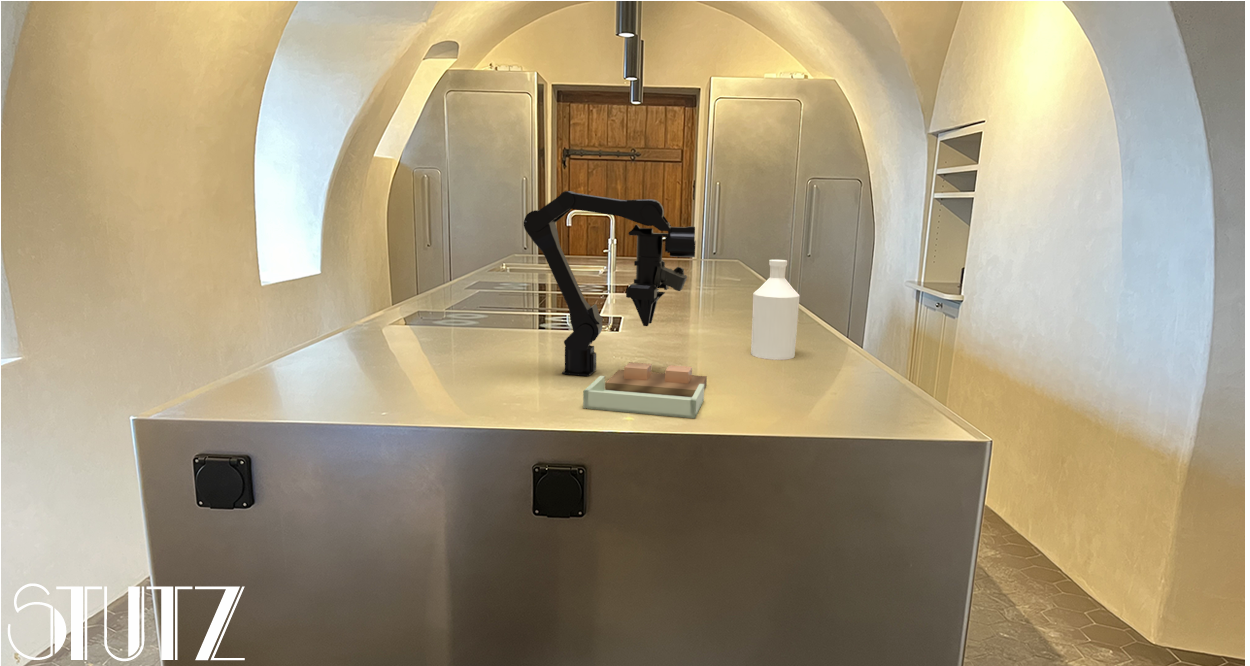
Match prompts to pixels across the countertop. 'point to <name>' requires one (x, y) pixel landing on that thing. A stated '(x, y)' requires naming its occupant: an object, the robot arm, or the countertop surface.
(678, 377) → the right tile
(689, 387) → the walnut board
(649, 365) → the left tile
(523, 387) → the countertop surface
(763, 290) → the bottle
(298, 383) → the countertop surface
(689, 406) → the sage tray
